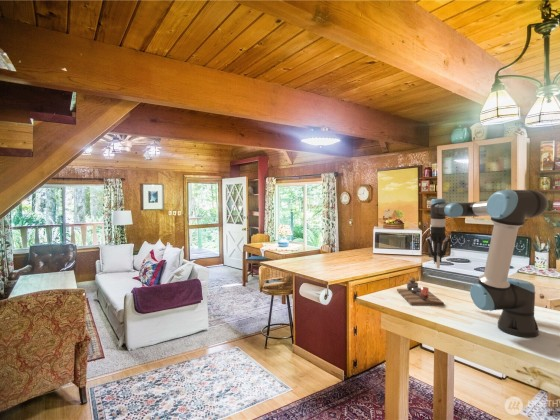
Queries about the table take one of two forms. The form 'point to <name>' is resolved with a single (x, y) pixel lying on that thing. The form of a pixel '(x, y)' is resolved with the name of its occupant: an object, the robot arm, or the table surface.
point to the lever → (420, 291)
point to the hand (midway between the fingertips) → (437, 267)
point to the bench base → (414, 298)
